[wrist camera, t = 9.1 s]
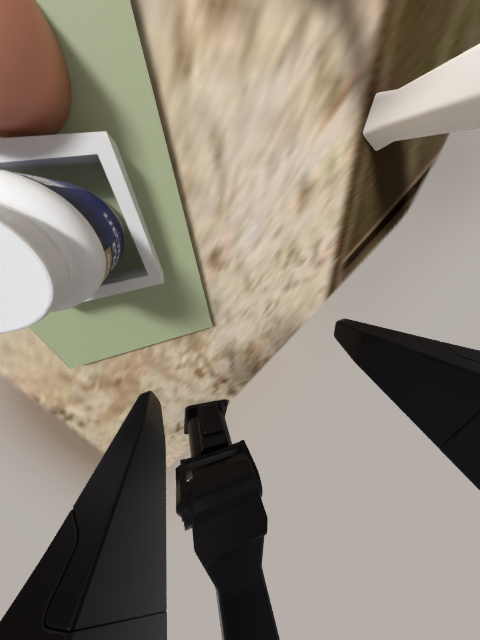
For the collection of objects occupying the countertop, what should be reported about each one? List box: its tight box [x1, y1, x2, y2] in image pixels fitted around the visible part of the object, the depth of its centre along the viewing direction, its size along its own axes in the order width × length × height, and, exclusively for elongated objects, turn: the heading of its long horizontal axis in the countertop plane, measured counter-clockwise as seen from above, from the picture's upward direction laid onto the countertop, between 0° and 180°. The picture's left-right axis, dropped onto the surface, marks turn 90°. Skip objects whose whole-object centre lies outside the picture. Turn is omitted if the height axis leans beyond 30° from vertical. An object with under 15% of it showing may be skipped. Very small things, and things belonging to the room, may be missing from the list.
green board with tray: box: [0, 0, 213, 369], centre depth 12 cm, size 22×14×5 cm, turn 7°
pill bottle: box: [0, 170, 126, 333], centre depth 9 cm, size 5×5×10 cm
